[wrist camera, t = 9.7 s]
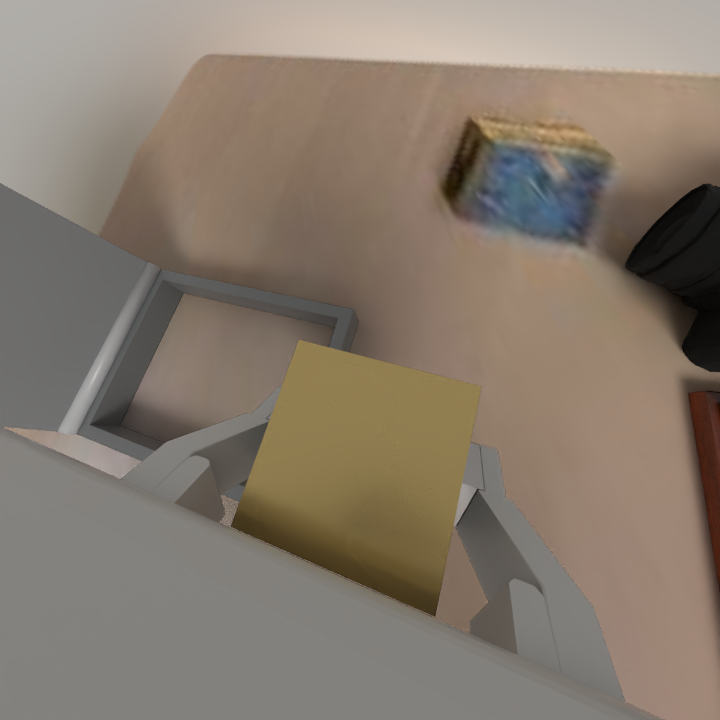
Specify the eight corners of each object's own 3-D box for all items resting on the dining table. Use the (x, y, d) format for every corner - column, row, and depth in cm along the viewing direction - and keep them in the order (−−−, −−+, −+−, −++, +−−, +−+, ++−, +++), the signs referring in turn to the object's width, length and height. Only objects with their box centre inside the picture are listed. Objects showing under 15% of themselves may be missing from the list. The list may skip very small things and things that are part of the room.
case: (358, 321, 24) (274, 110, 8) (299, 510, 20) (-35, 759, 5) (128, 271, 30) (-175, 92, 14) (52, 411, 26) (-456, 380, 11)
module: (428, 415, 15) (481, 386, 5) (410, 489, 14) (434, 616, 4) (360, 395, 16) (298, 339, 6) (339, 464, 15) (230, 526, 5)
